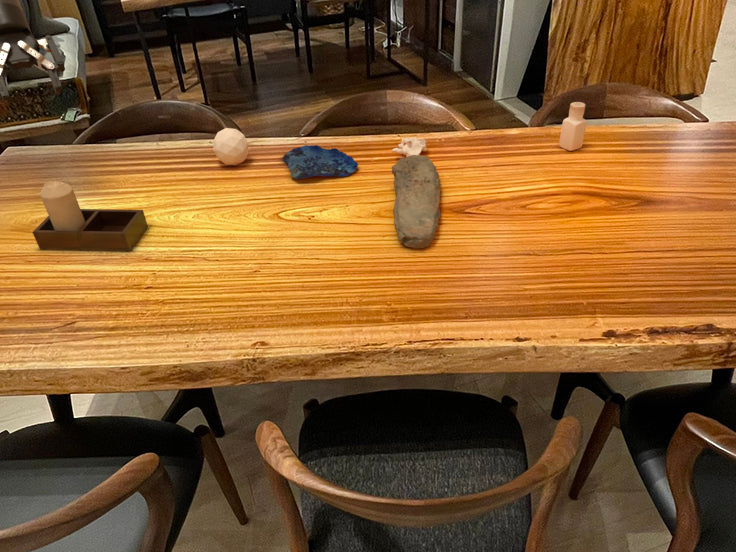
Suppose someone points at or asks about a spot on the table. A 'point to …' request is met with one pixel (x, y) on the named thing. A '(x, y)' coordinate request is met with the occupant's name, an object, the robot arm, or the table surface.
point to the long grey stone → (416, 200)
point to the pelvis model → (411, 146)
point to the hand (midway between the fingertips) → (34, 96)
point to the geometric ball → (230, 146)
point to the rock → (318, 162)
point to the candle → (62, 206)
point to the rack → (95, 231)
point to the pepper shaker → (573, 127)
